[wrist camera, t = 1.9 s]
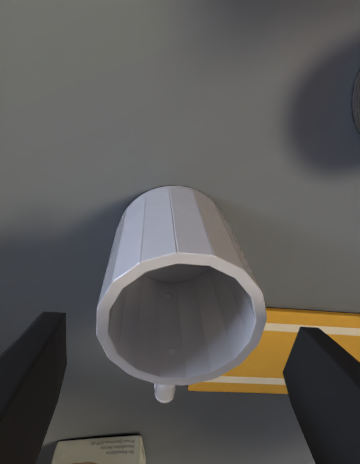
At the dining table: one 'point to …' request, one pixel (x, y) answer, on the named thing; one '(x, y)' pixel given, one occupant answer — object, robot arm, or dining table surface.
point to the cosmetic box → (101, 451)
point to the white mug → (178, 293)
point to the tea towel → (283, 350)
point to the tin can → (356, 102)
